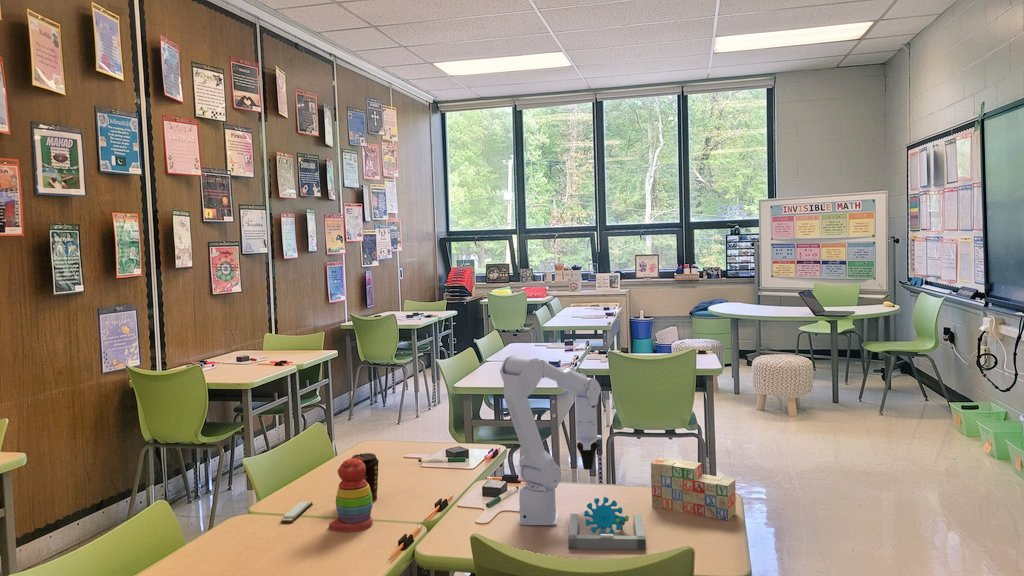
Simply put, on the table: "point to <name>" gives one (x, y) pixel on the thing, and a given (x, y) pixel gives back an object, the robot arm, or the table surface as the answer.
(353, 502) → the stacking bear
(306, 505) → the harmonica
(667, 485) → the stack of blocks
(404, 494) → the table surface
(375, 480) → the coffee cup
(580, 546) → the gear frame
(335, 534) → the table surface
